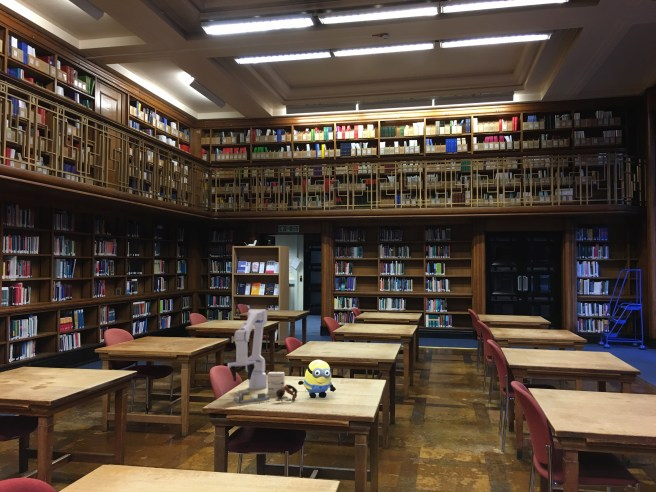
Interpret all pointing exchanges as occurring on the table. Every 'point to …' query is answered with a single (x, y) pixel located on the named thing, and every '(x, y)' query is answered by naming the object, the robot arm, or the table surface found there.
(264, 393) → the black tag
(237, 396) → the deck
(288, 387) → the brown curved arch
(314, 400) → the table surface
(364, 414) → the table surface
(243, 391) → the plug
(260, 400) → the socket panel
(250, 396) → the brass tag
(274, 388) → the ink box
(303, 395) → the table surface
